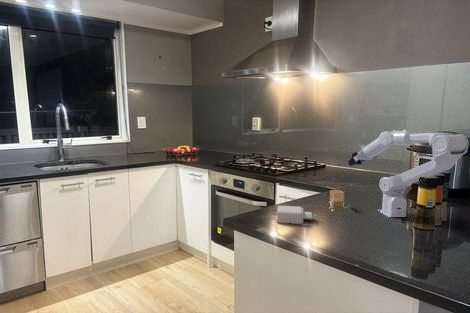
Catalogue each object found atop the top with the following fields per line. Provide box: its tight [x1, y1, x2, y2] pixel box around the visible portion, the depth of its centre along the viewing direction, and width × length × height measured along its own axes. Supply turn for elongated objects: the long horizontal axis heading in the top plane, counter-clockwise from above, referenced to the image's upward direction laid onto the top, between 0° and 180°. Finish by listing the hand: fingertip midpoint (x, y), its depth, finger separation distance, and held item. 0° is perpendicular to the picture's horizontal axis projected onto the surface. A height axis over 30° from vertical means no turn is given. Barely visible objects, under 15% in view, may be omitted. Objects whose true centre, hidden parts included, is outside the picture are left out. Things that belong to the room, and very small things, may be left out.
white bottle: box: [276, 205, 318, 225], centre depth 125 cm, size 5×9×15 cm
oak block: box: [329, 189, 345, 207], centre depth 140 cm, size 4×4×7 cm
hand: (355, 161), depth 151 cm, fingers open, 7 cm apart
